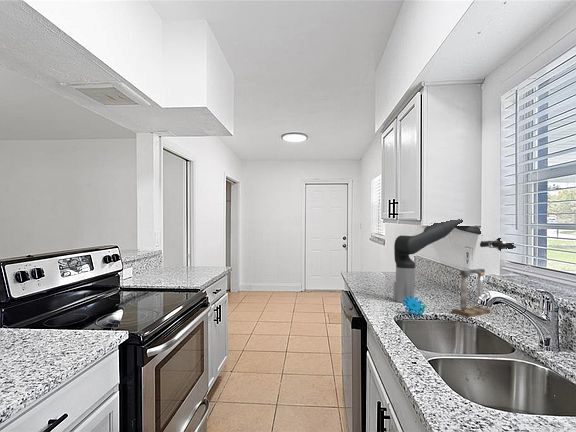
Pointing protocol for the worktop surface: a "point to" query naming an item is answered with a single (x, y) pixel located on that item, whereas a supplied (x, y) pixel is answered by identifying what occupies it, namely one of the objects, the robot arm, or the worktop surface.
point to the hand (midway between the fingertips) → (489, 245)
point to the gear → (414, 305)
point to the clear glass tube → (480, 284)
